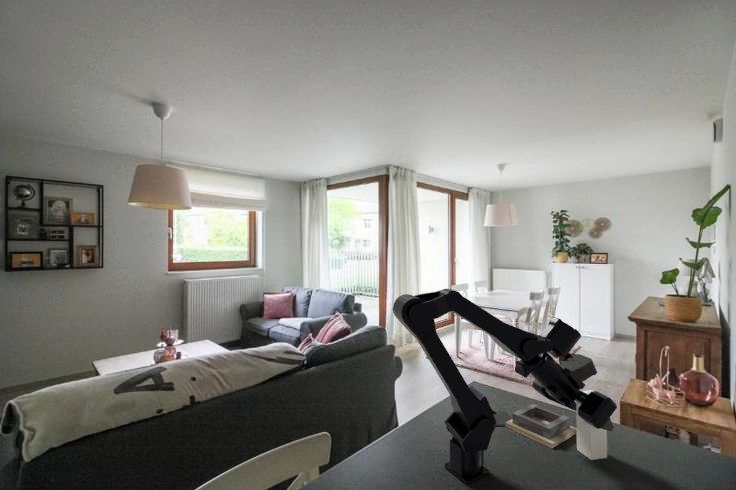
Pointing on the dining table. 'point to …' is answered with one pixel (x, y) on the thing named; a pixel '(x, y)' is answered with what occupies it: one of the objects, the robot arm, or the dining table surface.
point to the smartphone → (502, 417)
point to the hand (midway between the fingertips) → (593, 418)
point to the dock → (541, 425)
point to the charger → (590, 437)
